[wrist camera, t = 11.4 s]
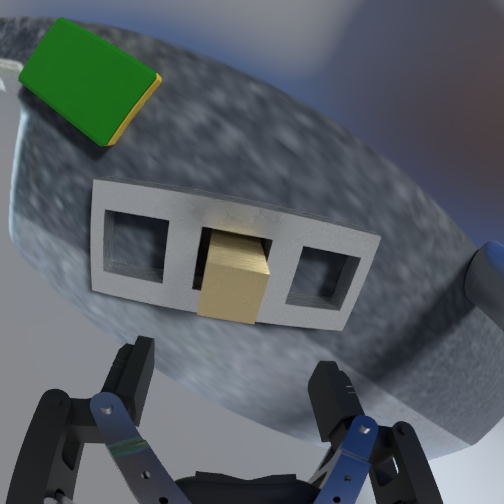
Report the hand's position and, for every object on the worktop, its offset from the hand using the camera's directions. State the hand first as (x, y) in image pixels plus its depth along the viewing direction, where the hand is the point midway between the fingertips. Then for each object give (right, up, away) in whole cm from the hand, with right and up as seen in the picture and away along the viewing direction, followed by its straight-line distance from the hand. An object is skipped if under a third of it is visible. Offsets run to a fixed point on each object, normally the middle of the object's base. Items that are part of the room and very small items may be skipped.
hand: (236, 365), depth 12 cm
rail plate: (-1, +5, +12) cm, 13 cm away
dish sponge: (-14, +21, +5) cm, 26 cm away
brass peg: (-1, +5, +12) cm, 13 cm away
